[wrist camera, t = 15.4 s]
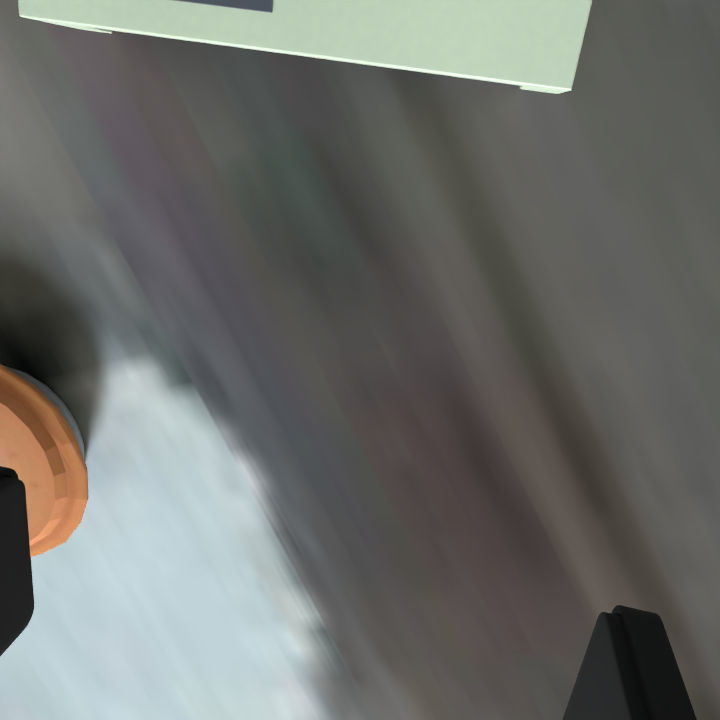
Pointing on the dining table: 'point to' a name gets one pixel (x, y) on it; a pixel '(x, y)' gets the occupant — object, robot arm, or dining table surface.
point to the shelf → (363, 31)
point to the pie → (43, 457)
